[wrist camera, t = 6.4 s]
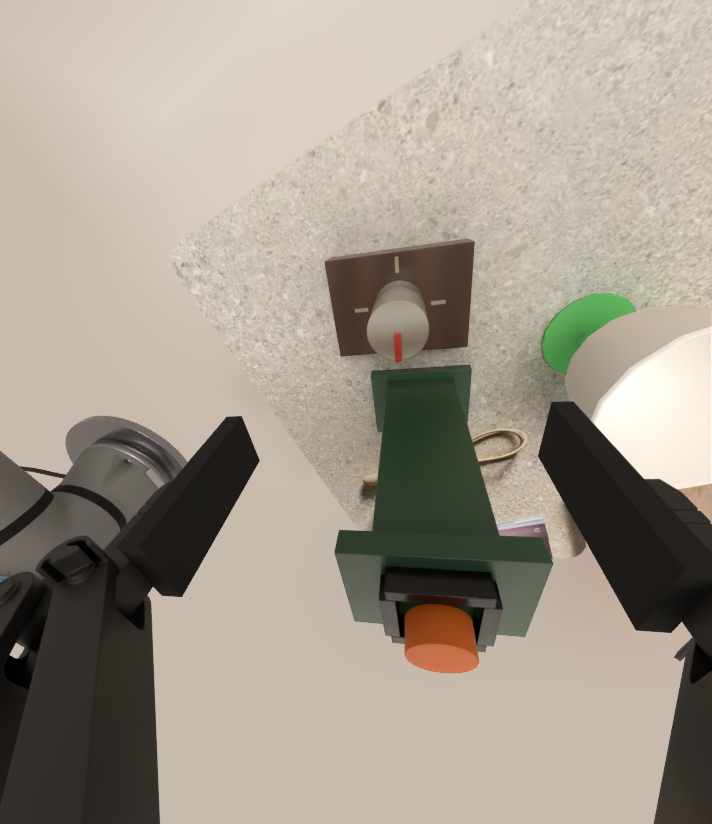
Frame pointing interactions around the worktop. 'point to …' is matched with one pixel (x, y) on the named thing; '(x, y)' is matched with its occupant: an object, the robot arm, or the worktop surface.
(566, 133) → the worktop surface
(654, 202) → the worktop surface
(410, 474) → the control post
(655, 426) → the cup
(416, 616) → the button
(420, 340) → the dial
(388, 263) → the dial panel
